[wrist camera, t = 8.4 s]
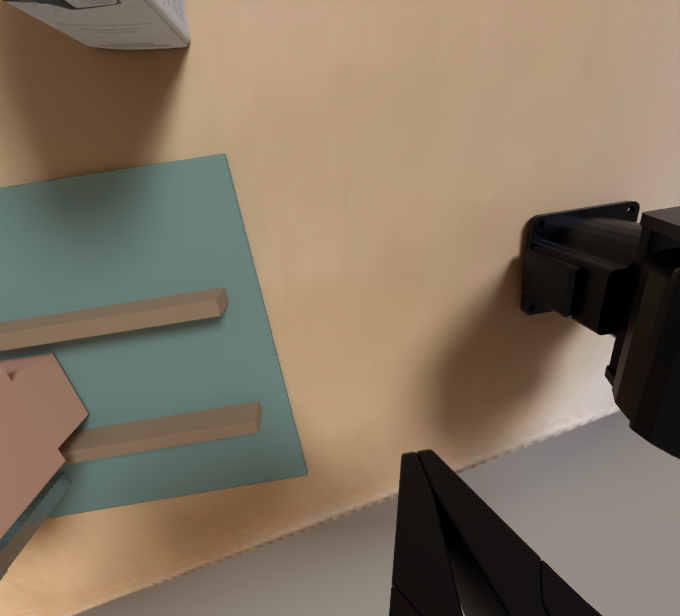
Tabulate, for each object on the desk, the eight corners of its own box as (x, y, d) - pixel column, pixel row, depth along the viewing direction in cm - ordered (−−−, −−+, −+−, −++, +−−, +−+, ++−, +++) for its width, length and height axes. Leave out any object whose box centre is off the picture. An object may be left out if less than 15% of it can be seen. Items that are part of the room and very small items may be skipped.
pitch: (225, 153, 17) (213, 152, 15) (307, 471, 27) (307, 497, 25) (-314, 236, 17) (-403, 247, 15) (-33, 528, 27) (-62, 559, 25)
